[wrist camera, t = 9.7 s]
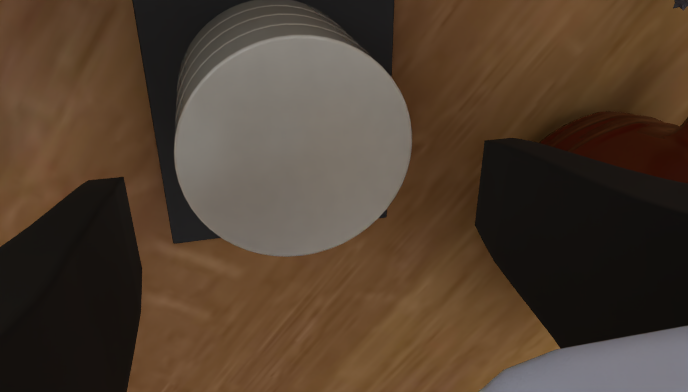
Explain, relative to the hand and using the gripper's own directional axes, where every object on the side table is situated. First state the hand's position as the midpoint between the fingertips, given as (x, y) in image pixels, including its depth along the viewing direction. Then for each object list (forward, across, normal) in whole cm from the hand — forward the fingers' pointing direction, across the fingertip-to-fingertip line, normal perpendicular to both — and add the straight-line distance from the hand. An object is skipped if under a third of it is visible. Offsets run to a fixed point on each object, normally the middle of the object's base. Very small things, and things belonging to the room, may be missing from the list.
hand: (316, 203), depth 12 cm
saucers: (+6, 0, 0) cm, 6 cm away
